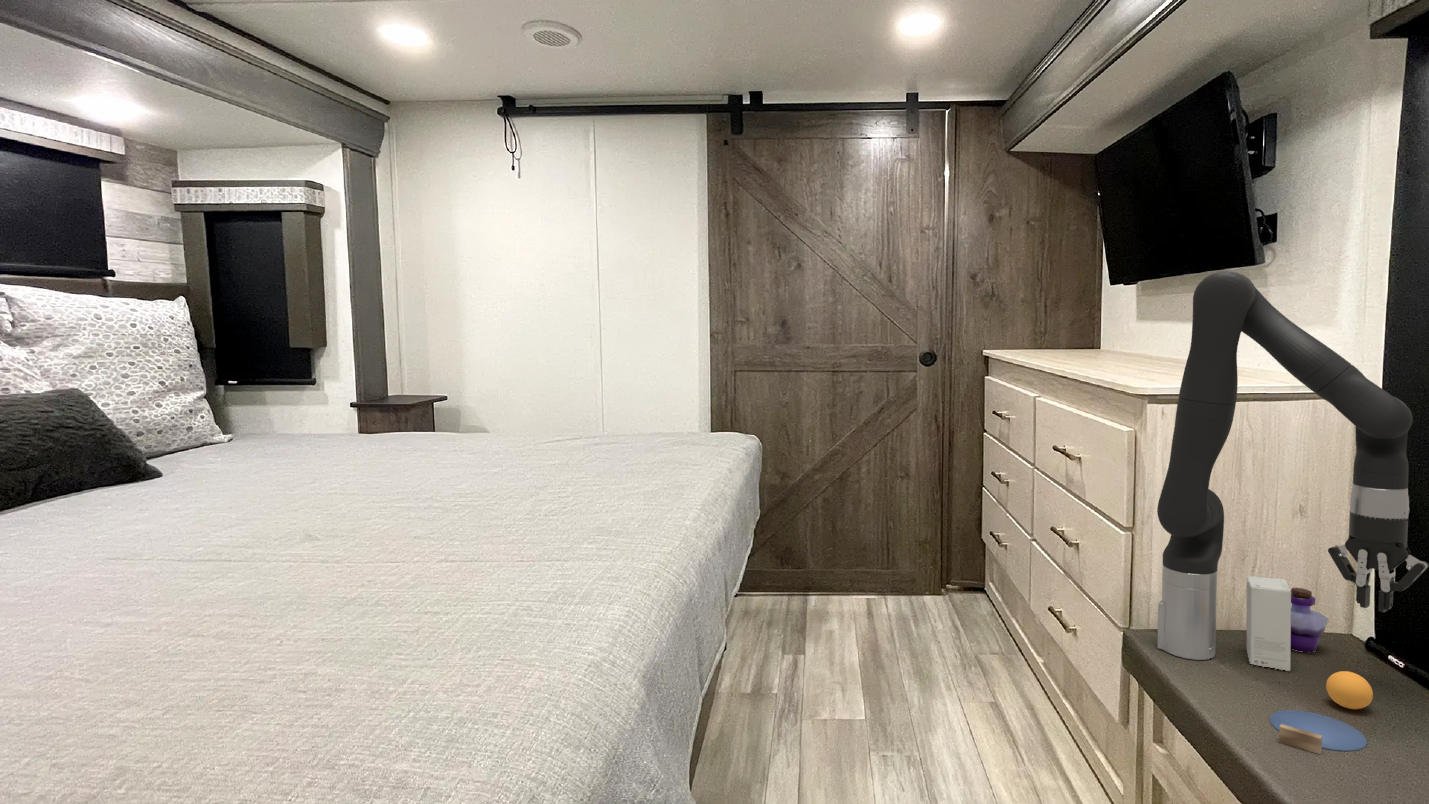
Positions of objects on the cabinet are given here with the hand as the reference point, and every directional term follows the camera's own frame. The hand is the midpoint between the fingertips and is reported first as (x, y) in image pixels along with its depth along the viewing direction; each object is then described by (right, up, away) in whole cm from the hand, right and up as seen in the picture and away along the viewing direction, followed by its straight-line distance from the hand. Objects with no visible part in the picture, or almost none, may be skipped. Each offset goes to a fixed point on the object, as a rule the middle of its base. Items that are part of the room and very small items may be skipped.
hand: (1374, 608), depth 128 cm
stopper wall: (-25, -17, -15) cm, 33 cm away
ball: (-8, -13, -4) cm, 15 cm away
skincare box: (-8, -14, +14) cm, 22 cm away
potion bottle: (+2, -14, +20) cm, 24 cm away
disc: (-18, -17, -10) cm, 27 cm away
